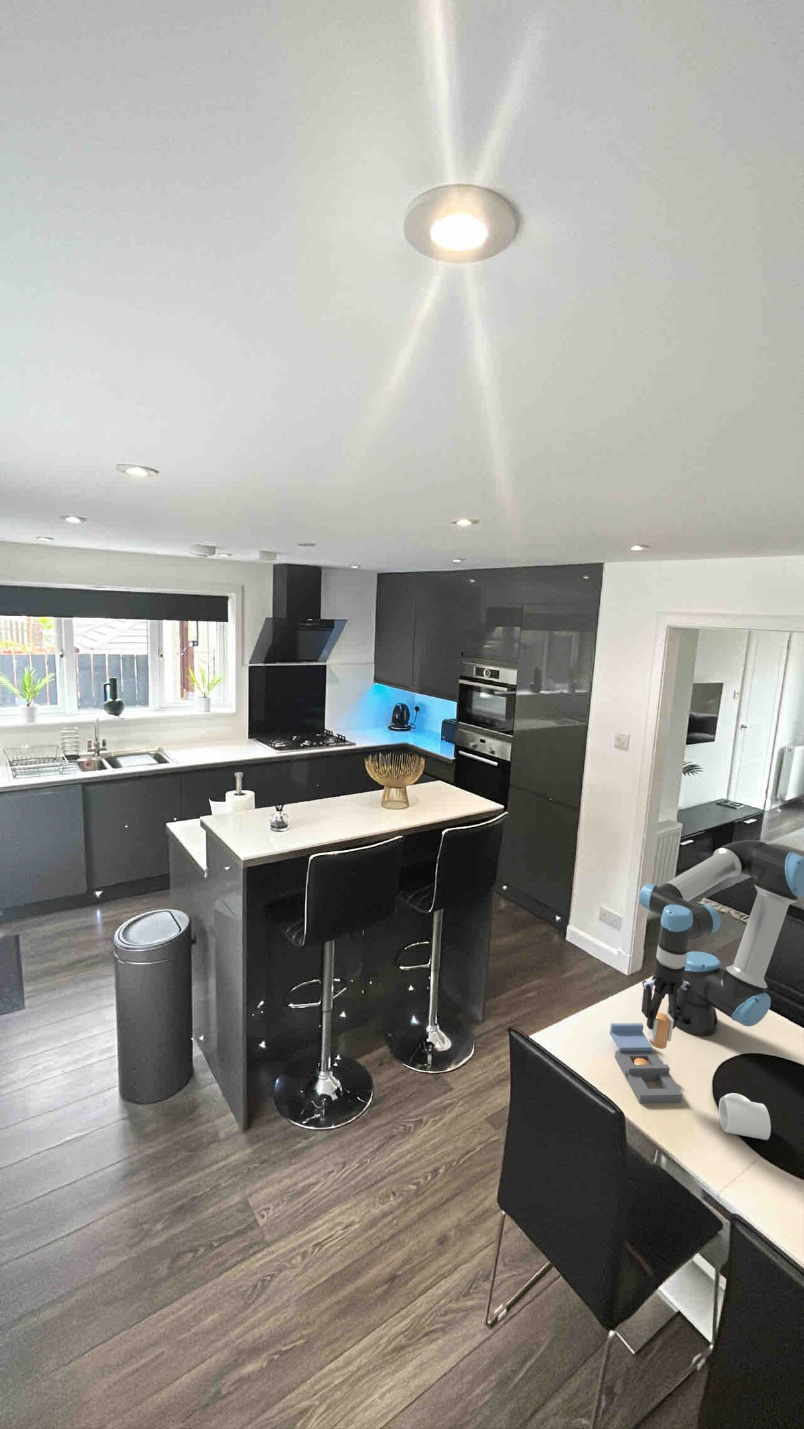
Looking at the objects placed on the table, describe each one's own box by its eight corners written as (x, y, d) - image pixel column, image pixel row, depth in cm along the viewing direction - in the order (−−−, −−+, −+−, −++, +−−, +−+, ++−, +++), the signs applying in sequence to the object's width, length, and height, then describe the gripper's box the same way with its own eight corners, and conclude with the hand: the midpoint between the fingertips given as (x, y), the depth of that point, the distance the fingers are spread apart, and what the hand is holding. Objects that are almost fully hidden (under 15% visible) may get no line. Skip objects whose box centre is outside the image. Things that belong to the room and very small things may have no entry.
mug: (768, 1147, 158) (773, 1121, 156) (726, 1139, 160) (730, 1113, 158) (752, 1110, 169) (756, 1085, 168) (712, 1103, 171) (716, 1078, 170)
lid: (640, 1033, 194) (642, 1023, 193) (652, 1050, 187) (653, 1040, 186) (609, 1033, 193) (610, 1023, 193) (619, 1051, 186) (620, 1040, 185)
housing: (653, 1057, 188) (654, 1045, 187) (681, 1102, 171) (683, 1089, 170) (614, 1057, 187) (616, 1045, 186) (639, 1103, 170) (641, 1089, 169)
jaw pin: (669, 1048, 172) (673, 1022, 171) (654, 1049, 172) (658, 1023, 170) (661, 1037, 176) (665, 1012, 175) (646, 1038, 176) (650, 1012, 175)
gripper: (691, 954, 174) (680, 1028, 178) (634, 954, 172) (623, 1029, 176) (707, 969, 167) (695, 1046, 171) (647, 969, 165) (636, 1048, 169)
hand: (659, 1037), depth 174 cm, fingers closed on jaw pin, 4 cm apart
